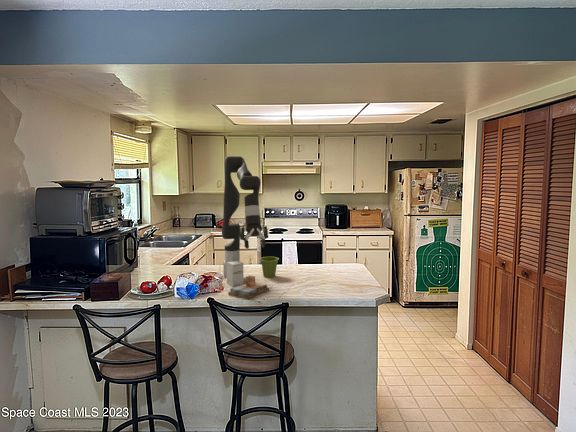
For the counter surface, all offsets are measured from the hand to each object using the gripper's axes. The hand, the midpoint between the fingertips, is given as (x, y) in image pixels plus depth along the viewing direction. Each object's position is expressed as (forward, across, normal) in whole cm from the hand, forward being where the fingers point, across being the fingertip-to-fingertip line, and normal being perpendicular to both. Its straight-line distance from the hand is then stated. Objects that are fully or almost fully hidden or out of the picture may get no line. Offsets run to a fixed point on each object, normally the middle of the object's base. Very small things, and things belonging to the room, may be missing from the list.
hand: (255, 247), depth 197 cm
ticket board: (+23, -5, -23) cm, 32 cm away
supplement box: (+18, -5, -42) cm, 46 cm away
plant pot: (+16, -30, -46) cm, 57 cm away
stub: (+21, -6, -23) cm, 32 cm away
